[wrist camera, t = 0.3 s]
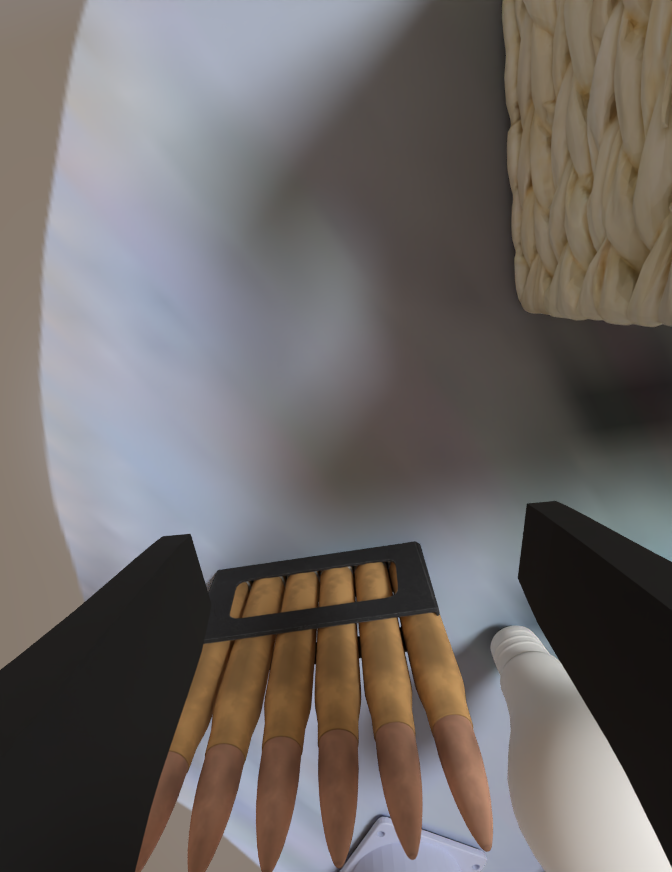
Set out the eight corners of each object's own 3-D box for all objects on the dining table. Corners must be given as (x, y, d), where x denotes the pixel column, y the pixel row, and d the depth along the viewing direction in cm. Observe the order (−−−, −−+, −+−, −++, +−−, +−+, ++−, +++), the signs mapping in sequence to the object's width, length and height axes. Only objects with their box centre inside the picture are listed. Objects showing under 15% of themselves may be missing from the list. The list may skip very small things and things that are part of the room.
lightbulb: (553, 680, 23) (742, 986, 12) (446, 677, 23) (543, 983, 12) (573, 587, 21) (810, 848, 11) (458, 584, 21) (582, 844, 11)
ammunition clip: (419, 540, 21) (527, 817, 9) (422, 571, 21) (530, 872, 9) (216, 570, 21) (70, 870, 9) (224, 600, 21) (95, 920, 10)
